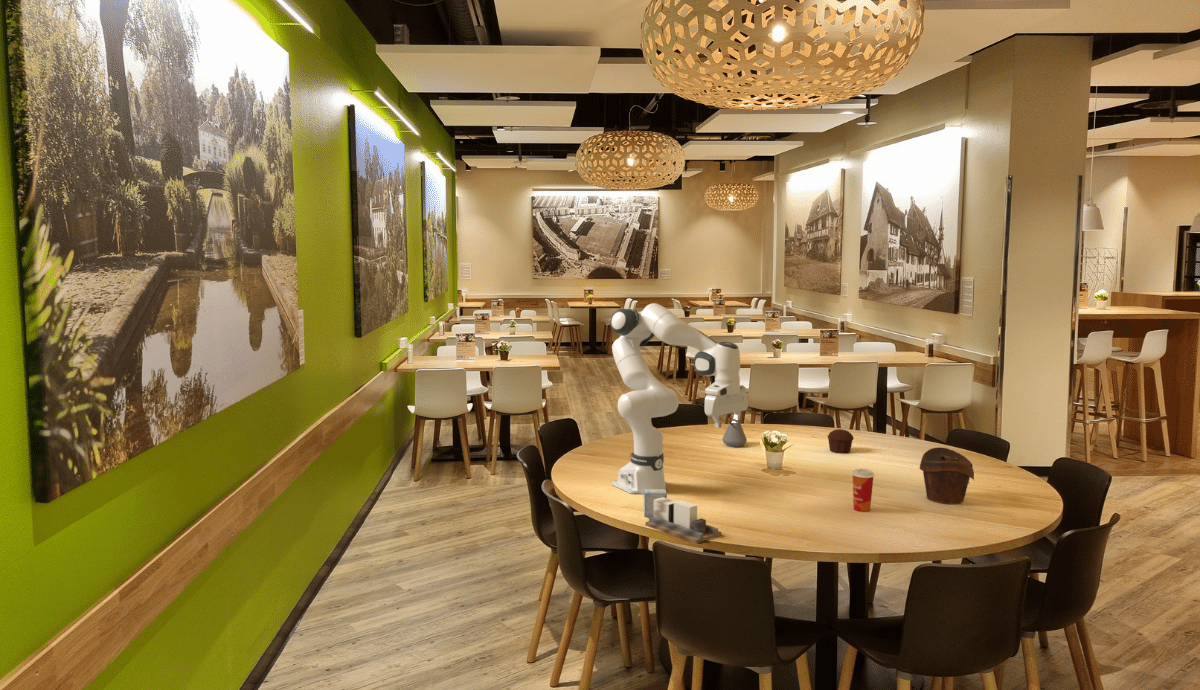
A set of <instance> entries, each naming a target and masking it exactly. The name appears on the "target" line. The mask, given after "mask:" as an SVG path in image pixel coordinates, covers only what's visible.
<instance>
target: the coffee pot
mask: <svg viewBox="0 0 1200 690" xmlns="http://www.w3.org/2000/svg"><path fill="white" fill-rule="evenodd" d="M733 418H734V417H729V418H727V420H728V421H727V422H728V424H727V427H726V430H725V432H724V434H723V436H722V438H721V439H722V442H723V443H724V445H725V446H727V447H729V448H741V447H743V446H744V445H745V444H746V443H747V437H746V434H745V432H744V429H743V427H742V425H741V423H742V420H743V419H742V418H740V417H739V419H738V424H732V419H733Z"/></svg>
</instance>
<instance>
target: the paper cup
mask: <svg viewBox="0 0 1200 690" xmlns="http://www.w3.org/2000/svg"><path fill="white" fill-rule="evenodd" d="M851 475H852V501H853V502H852V503H853V510H854V511H857V512H861V513H862V512H863V513H865V512H871V505H872V497H873V496H872V495H873V485H874V477H875V474H874V471H873V470H871V469H868V468H854V469H853V470H852V472H851Z"/></svg>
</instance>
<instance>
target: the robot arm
mask: <svg viewBox="0 0 1200 690" xmlns="http://www.w3.org/2000/svg"><path fill="white" fill-rule="evenodd" d="M609 320H610V321H609V325H610V328H611V330H612V331H613V333H615V334H616V335H618V336H619V337H618V338H617V339H615V340H614V341H613V343H612V345H611V350H612V351H611V352H612V356H613V359H614V362H615V365H616V368H617V370H618V373H619V374H620V377H621V379H622V382H623V383H624V385H625V386H626V387H628V388H629V389H633V390H631V391H629V392H626V393H623V394H621V395H620V397H619V399H618V400H617V411H618V413H619V415H620V417H622V418H623V419H624V420H625V421H626V422H627V423H628V425H629V426H630V428H631V431H632V436H633V452H630V453H629V455H628V457H631V458H630V461H629V462H627V463H626V464H625V465H623V466H622V467H621V468H619V470H618V473H617V479H615V480H612V482H611V485H612V486H614V487H616V488H618V489H621V490H622V491H624V492H626V493H629V494H632V495H633V494H641V495H643V494H644V490H651V489H665V490H667V482H666V479H665V478H666V477H665V470H664V461H665V460H664V459H665V456H664V453H663V447H664V446H663V439H664V438H663V437H664V435H663V433H662V432H661V430H659V429H658V428H657V427H654V426H653V423H652V418H653V419H654V418H659V417H661V418H662V417H666V416H669V415H672V414H674V413H675V412H676V411H677V410H678V407H679V404H680V403H679V396H678V394H677V393H676V391H675V390H673V389H672V388H669V387H667V386H666V385H664V384H663V383H662V382H660V381H659V380H658V379H657V378H656V377H655V376H654V375H653V373H652V371H650V368H649V366H648V364H647V362H646V360H645V358H644V356H643V354H642V352H641V348H640V347H642V346H643V347H644V346H646V344H648V342H650V341H651V340H652V339H653V338H654V337H656V338H657V339H658V340H660V341H662V342H663V343H665V344H667V345H670V346H685V347H689V348H690V347H691V348H694V349H696V350H698V352H697V353H695V355H694V358H693V368H694V369H695V372H696V373H697V374H698V375H699V376H701V377H712V376H714V382H713V383H711V384H709V386H707V387H706V388H704V393H705V394H706V395H705V398H704V413H705V415H706V416H708V417H711V418H712V419H713V422H714V427H715V428H716V429H719V428H722V422H720V420H719V419H720V418H721V417H720V416H723V415H724V416H725V415H729V414H734V415H733V417H732V418H733V419H732V424H738V419H739V418H740V417H741V412H744V411H747V410H748V407H749V400H748V399H749V397H748V392H747V388H746V387H745V386H744V385H743V384H741V385H740V383H741V380H740V370H741V353H740V348H739V346H738V345H737V344H735V343H734V342H729V341H719V342H717V341H715V340H714V339H712V338H711V337H710V336H708V335H707V334H705V333H704V332H702V331H701V330H699V329H697V328H696V327H694V326H692V325H691V324H689V323H687V322H685V321H684V320H682V318H680V317H678V316H677V315H676V314H675V313H673V312H672V311H670V310H669V308H666V307H665V306H662V305H661V304H659V303H656V302H655V303H650V304H647V305H646V306H645V307H644V308H643V310H641V311H637V310H636V309H635V308H634V309H632V308H621V309H617V310H616V311H613V313H612V315H611V317H610V319H609Z"/></svg>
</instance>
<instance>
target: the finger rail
mask: <svg viewBox="0 0 1200 690" xmlns="http://www.w3.org/2000/svg"><path fill="white" fill-rule="evenodd" d="M674 502H677V501H675V500H673V499H670V498H668V497H667V498H664V497H662V498H658V499H655V500H654V516H650V517H648V521H645V526H646V527H649V528H652V529H655V530H657V531H661V532H662V533H666V534H669V535H671V536H674V537H677V538H679V539H683V540H685V541H688V542H691V543H694V544H699V543H702V542H705V541H708V540H710V539H714V538H717V537H719V536H722V534H723V533H722V531H720V530H719V528H717V527H714V526H712V525H708V524H707V520H706V518H705V519H704V518H702V517H701V518H697V520H695V521H692V530H691V529H689V528H686V527H683V526H680V525H677V524H674V522H673V504H674Z"/></svg>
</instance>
